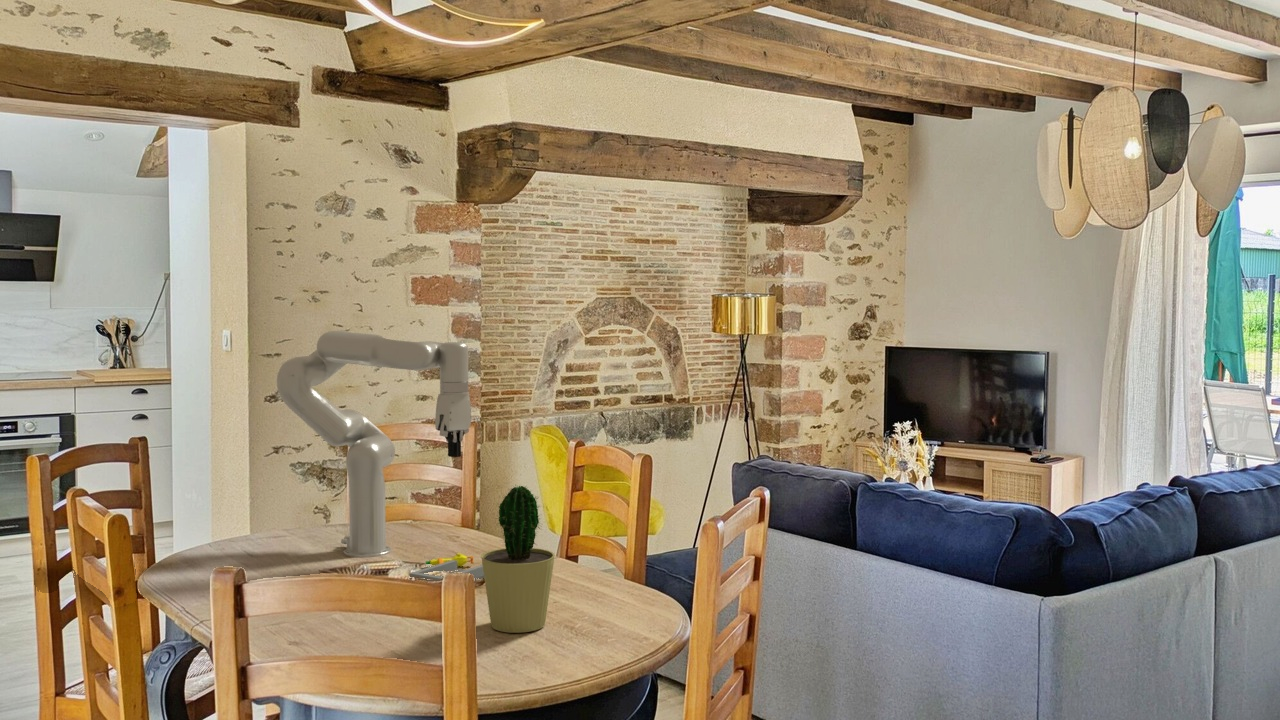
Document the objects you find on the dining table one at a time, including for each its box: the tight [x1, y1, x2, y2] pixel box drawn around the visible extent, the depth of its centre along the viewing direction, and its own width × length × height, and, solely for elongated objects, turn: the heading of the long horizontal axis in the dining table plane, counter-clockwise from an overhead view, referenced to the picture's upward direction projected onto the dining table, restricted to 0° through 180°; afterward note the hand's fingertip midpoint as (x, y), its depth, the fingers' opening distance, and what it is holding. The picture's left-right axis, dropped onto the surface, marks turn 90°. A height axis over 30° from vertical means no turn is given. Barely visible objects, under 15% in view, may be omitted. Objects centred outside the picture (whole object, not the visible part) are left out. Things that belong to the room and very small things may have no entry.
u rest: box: [408, 560, 484, 583], centre depth 258 cm, size 12×16×3 cm
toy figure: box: [425, 552, 474, 568], centre depth 271 cm, size 7×4×12 cm
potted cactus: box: [480, 485, 555, 634], centre depth 222 cm, size 15×15×30 cm
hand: (454, 456), depth 284 cm, fingers closed
